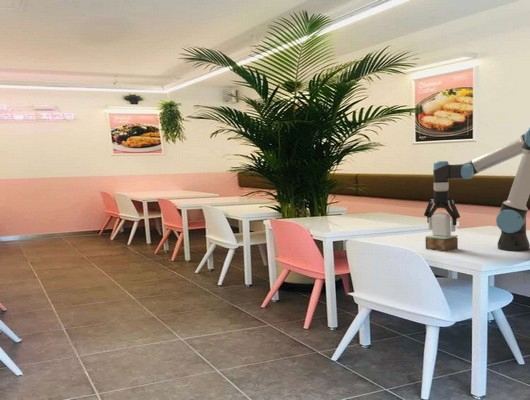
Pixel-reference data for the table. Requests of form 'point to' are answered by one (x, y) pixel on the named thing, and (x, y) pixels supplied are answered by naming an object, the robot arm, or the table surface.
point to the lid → (441, 236)
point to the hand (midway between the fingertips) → (441, 230)
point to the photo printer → (441, 224)
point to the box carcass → (442, 244)
